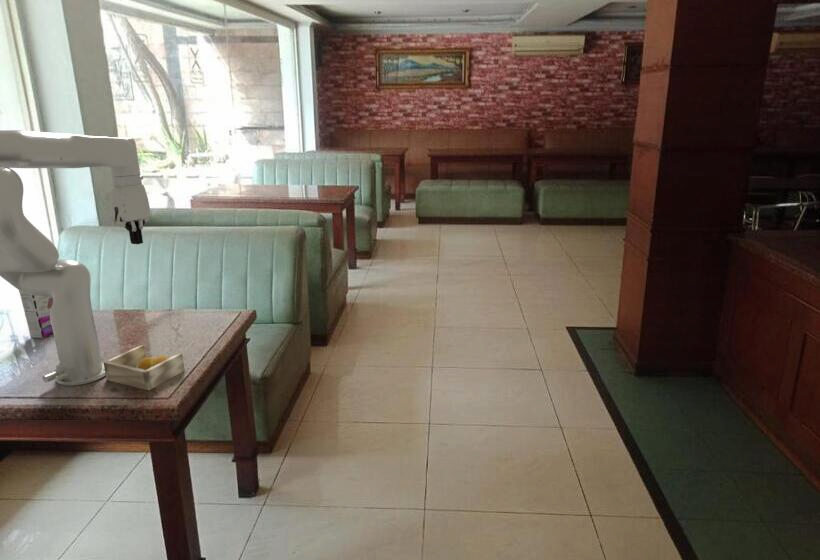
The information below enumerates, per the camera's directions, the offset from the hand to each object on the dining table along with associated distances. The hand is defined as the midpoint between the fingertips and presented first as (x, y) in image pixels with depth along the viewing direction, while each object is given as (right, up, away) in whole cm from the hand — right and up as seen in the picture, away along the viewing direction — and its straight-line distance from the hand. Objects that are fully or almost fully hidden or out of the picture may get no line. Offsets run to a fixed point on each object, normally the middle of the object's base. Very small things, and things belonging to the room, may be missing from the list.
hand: (137, 243), depth 171 cm
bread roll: (+12, -36, -16) cm, 41 cm away
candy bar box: (-33, -28, +12) cm, 45 cm away
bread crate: (+11, -36, -18) cm, 42 cm away
